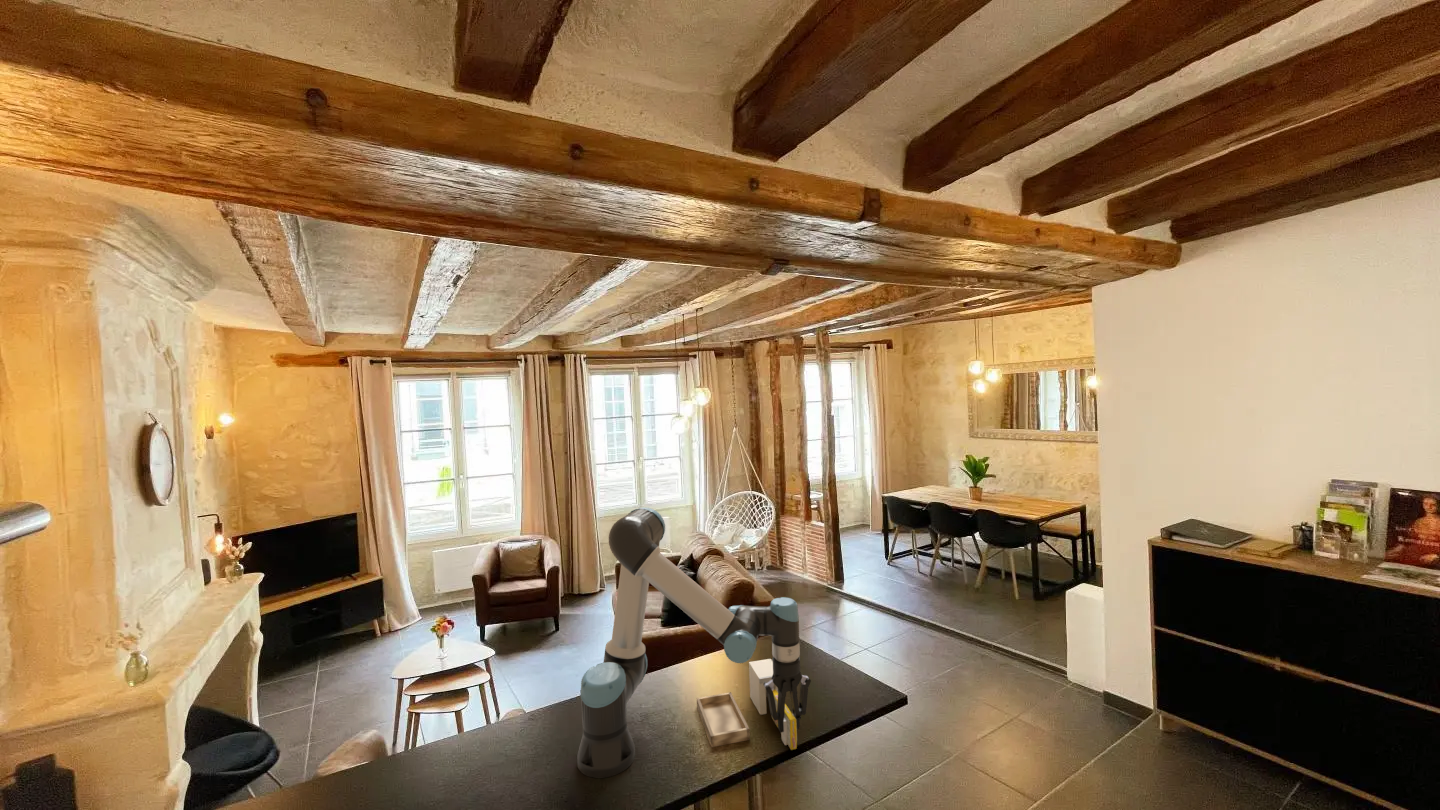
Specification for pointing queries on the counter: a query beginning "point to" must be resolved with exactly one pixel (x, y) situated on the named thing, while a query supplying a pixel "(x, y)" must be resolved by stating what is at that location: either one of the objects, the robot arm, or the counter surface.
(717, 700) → the tray
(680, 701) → the counter surface
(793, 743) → the candy box
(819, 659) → the counter surface
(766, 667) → the white box
